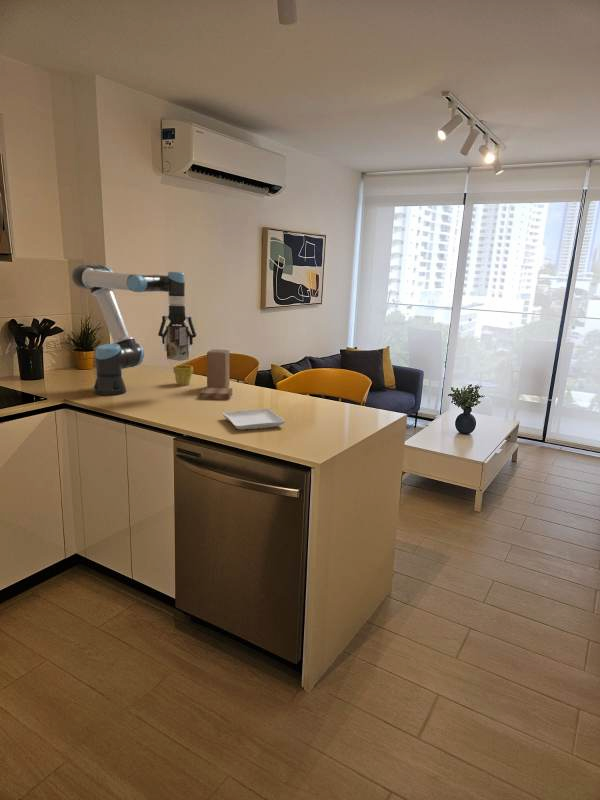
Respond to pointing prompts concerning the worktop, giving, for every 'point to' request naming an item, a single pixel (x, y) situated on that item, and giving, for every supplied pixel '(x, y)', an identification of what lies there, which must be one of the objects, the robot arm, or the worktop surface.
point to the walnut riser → (216, 393)
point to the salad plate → (253, 419)
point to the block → (218, 368)
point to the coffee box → (177, 343)
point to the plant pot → (183, 374)
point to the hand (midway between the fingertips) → (177, 351)
